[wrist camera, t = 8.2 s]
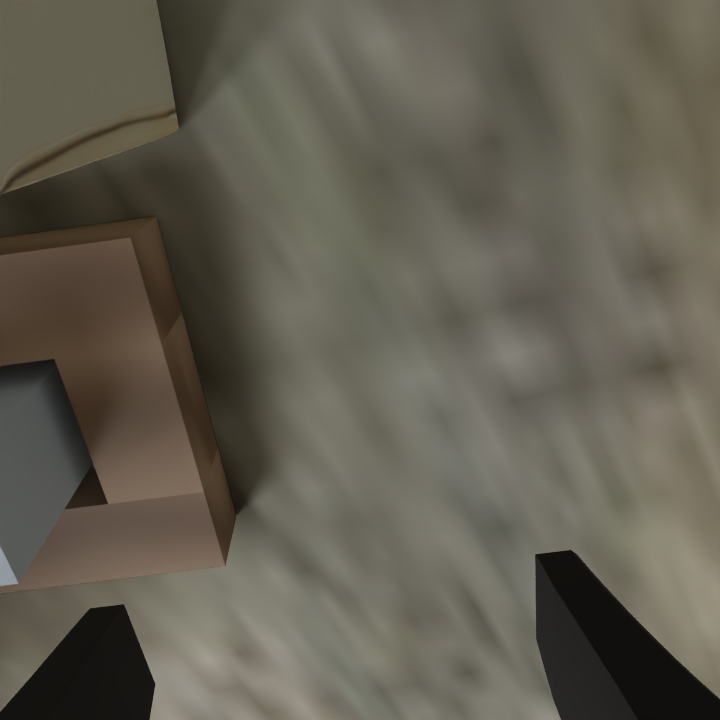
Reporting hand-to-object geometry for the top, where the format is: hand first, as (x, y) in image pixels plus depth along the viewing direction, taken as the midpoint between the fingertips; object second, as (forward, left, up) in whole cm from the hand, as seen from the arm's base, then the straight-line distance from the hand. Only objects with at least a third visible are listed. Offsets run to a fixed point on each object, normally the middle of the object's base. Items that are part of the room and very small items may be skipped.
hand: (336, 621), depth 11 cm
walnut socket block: (0, +10, -10) cm, 14 cm away
